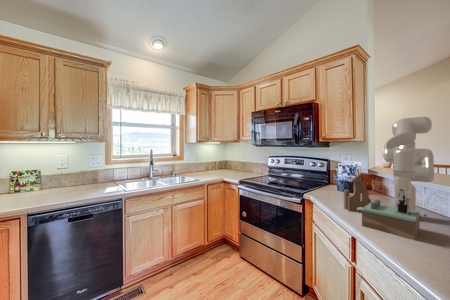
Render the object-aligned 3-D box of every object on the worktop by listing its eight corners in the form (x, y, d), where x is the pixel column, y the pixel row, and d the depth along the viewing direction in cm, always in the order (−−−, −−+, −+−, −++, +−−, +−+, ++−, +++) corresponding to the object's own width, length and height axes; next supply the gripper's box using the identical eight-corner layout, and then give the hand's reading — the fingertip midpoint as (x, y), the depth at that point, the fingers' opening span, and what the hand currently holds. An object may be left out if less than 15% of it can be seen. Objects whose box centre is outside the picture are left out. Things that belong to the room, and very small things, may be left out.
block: (398, 228, 98) (398, 197, 98) (409, 231, 95) (409, 199, 94) (396, 230, 95) (397, 198, 95) (407, 233, 92) (408, 200, 92)
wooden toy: (369, 209, 130) (369, 172, 129) (373, 213, 123) (374, 174, 123) (343, 207, 134) (343, 172, 134) (346, 210, 128) (346, 173, 127)
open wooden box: (370, 220, 112) (370, 205, 112) (419, 232, 96) (419, 214, 96) (361, 228, 102) (362, 211, 101) (414, 242, 86) (415, 223, 86)
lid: (370, 204, 112) (371, 197, 111) (419, 213, 96) (419, 205, 96) (362, 210, 101) (362, 202, 101) (415, 222, 86) (415, 213, 86)
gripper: (397, 171, 103) (396, 205, 103) (390, 175, 92) (389, 213, 93) (417, 173, 97) (416, 209, 97) (411, 177, 86) (411, 217, 87)
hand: (403, 210), depth 95 cm, fingers closed on block, 4 cm apart
